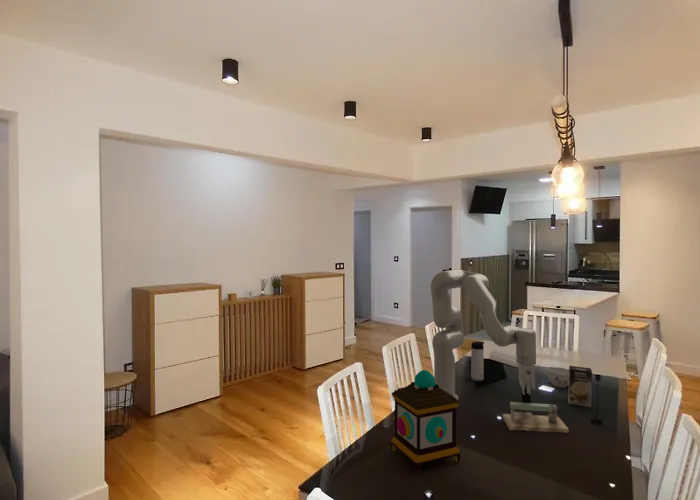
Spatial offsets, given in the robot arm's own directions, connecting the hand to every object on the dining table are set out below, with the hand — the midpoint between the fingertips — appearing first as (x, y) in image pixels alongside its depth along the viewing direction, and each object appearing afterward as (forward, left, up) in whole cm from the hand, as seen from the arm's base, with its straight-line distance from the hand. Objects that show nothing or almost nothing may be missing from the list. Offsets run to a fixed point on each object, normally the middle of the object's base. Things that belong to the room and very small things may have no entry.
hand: (526, 403), depth 182 cm
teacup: (+29, +47, -7) cm, 56 cm away
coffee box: (+29, +22, -7) cm, 38 cm away
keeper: (+2, -3, -1) cm, 4 cm away
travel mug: (-11, +52, -7) cm, 54 cm away
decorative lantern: (-43, -35, -7) cm, 55 cm away
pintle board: (+2, -4, -7) cm, 8 cm away
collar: (-3, -4, -6) cm, 7 cm away
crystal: (+12, +86, -8) cm, 87 cm away
